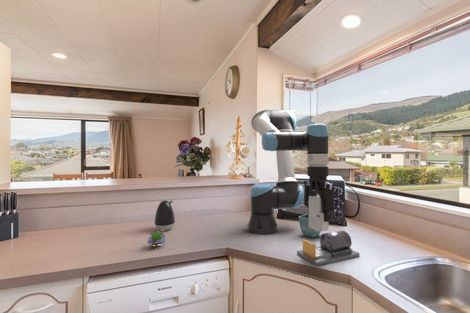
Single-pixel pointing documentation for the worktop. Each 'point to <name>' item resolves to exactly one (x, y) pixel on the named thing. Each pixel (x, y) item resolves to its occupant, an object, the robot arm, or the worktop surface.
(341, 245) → the motor
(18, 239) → the worktop surface
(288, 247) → the worktop surface
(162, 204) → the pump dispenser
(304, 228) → the flower pot
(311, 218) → the skincare box
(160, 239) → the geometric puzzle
